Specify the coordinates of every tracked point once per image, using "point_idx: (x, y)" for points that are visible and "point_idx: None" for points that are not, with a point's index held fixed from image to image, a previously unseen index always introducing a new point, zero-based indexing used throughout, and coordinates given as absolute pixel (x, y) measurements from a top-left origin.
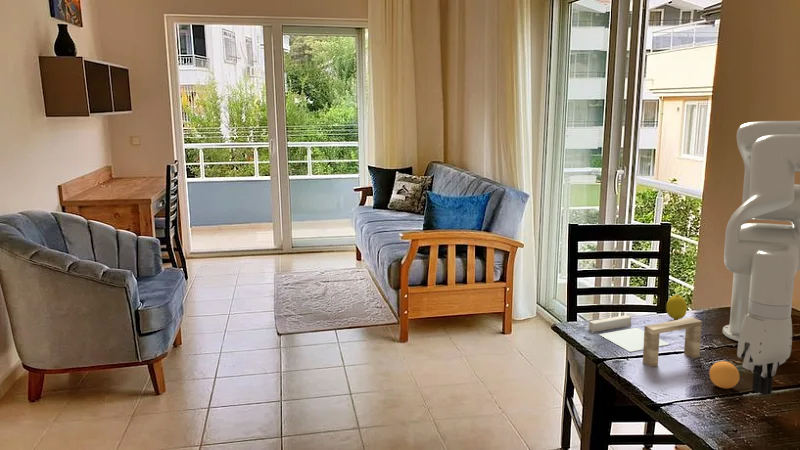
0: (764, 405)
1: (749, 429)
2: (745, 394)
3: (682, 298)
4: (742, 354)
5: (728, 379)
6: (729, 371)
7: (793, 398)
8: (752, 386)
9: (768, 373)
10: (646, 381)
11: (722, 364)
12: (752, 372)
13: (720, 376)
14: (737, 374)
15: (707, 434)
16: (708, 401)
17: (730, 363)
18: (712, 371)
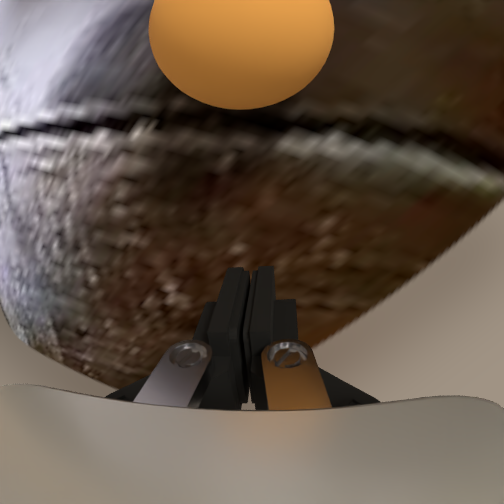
0: (294, 252)
1: (120, 345)
2: (298, 141)
3: None
4: (35, 399)
5: (201, 100)
6: (204, 81)
7: (452, 246)
8: (226, 272)
9: (260, 409)
10: None
11: (188, 12)
12: (178, 346)
13: (162, 71)
14: (276, 93)
15: (20, 316)
16: (91, 154)
17: (272, 9)
18: (150, 15)
